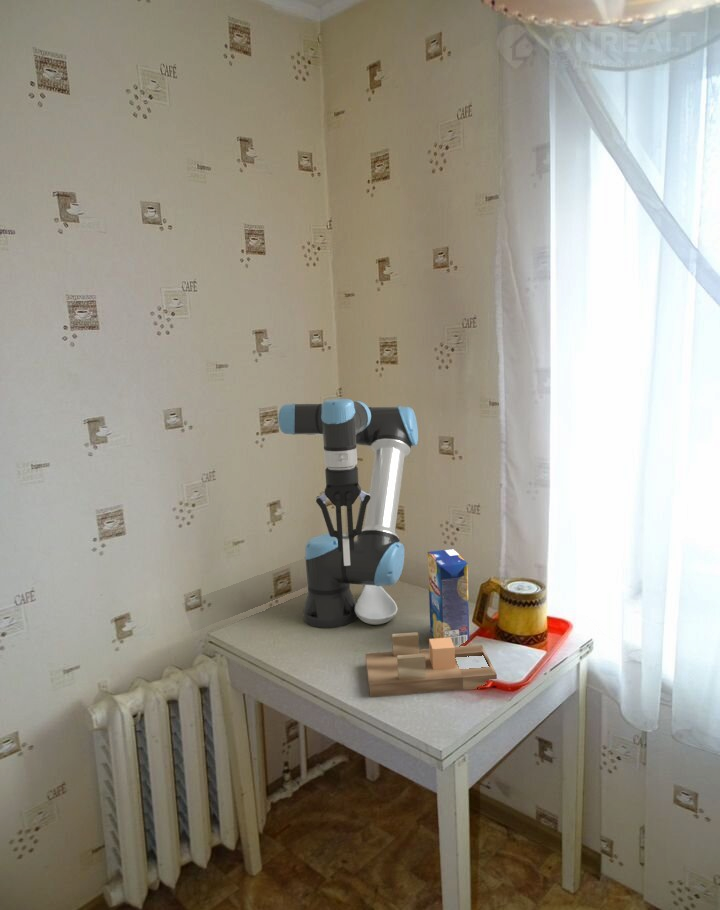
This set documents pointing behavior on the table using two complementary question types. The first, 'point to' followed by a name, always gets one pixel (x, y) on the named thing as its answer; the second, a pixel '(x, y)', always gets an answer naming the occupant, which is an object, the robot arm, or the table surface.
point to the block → (442, 653)
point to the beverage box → (448, 596)
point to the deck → (421, 669)
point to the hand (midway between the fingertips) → (347, 563)
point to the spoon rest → (375, 605)
